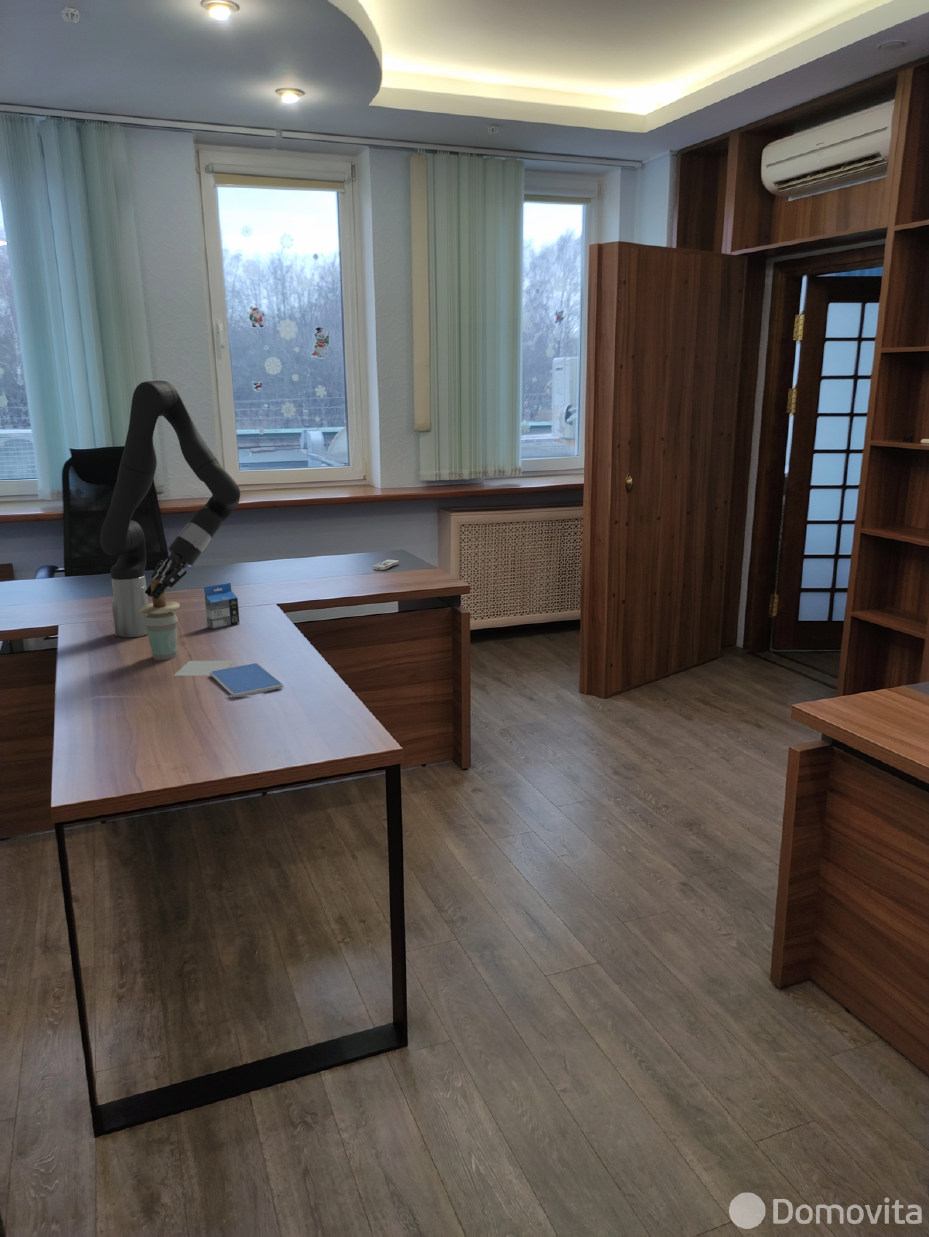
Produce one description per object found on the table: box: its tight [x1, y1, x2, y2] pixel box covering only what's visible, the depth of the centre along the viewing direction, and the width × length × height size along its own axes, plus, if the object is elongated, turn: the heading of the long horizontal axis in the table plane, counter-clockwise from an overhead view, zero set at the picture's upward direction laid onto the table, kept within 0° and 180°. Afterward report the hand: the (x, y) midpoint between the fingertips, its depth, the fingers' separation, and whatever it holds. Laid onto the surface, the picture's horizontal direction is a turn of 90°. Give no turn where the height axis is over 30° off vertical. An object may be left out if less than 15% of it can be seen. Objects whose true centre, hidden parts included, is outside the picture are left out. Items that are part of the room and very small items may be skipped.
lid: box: [140, 578, 181, 614], centre depth 231 cm, size 10×10×8 cm
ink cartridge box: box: [203, 582, 241, 630], centre depth 264 cm, size 9×4×12 cm, turn 131°
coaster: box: [173, 660, 235, 677], centre depth 225 cm, size 12×12×1 cm
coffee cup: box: [144, 611, 179, 661], centre depth 234 cm, size 9×9×12 cm
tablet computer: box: [210, 663, 284, 698], centre depth 214 cm, size 19×13×1 cm, turn 32°
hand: (150, 595), depth 230 cm, fingers closed on lid, 3 cm apart
